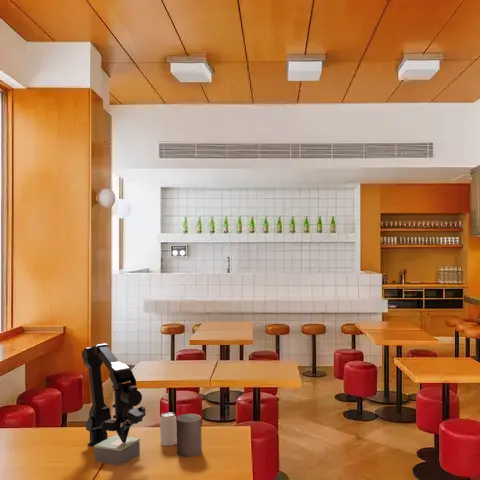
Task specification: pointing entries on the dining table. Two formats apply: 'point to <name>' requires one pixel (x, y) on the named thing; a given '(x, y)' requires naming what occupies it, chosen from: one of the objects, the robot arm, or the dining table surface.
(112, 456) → the storage box
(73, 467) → the dining table surface
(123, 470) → the dining table surface
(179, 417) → the pillar candle
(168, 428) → the can
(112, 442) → the lid
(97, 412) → the robot arm
